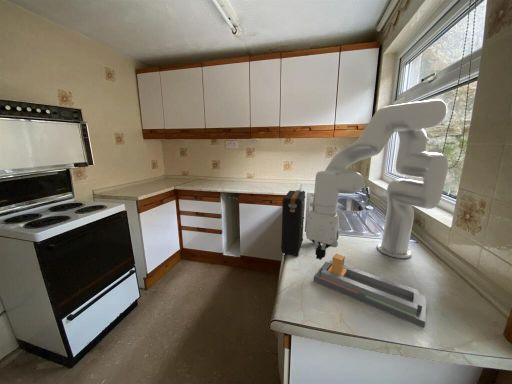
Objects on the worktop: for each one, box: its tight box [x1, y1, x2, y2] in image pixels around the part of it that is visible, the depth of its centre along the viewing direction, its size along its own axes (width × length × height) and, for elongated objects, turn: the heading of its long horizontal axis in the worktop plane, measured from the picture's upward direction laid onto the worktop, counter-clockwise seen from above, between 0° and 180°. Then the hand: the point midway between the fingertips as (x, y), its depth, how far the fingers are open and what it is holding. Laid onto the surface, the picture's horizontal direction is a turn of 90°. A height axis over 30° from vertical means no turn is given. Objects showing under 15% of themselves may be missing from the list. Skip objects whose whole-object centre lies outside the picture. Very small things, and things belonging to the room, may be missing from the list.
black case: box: [280, 189, 306, 257], centre depth 92 cm, size 16×9×25 cm, turn 161°
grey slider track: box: [313, 259, 427, 329], centre depth 67 cm, size 11×30×4 cm, turn 52°
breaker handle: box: [328, 253, 347, 277], centre depth 72 cm, size 4×5×7 cm
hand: (320, 257), depth 75 cm, fingers closed
